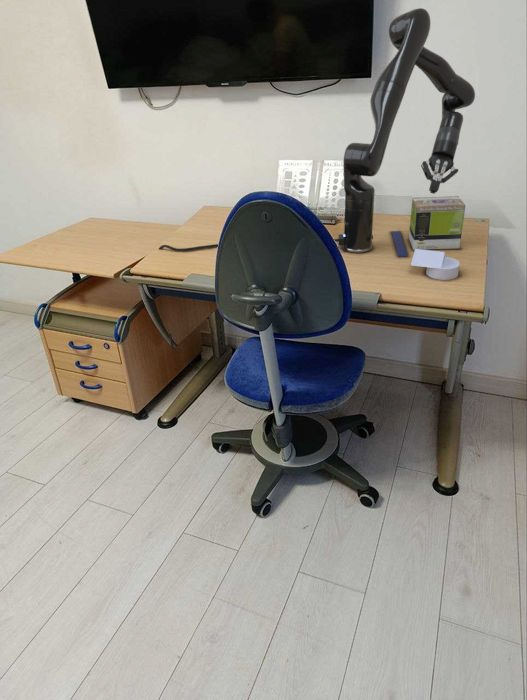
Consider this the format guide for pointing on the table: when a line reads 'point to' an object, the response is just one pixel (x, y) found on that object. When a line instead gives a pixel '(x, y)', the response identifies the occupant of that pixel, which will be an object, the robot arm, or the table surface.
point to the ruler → (399, 244)
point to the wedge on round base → (436, 264)
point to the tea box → (436, 222)
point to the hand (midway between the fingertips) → (432, 192)
